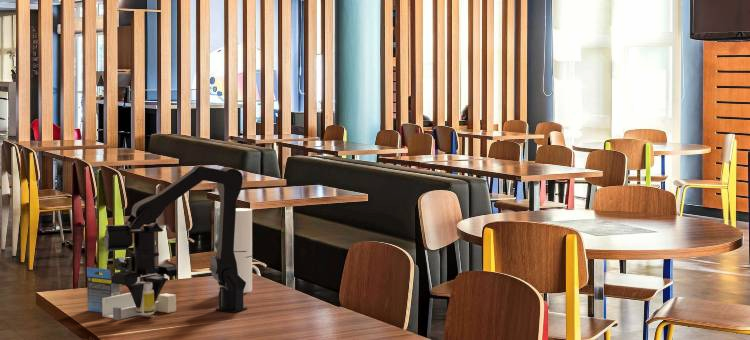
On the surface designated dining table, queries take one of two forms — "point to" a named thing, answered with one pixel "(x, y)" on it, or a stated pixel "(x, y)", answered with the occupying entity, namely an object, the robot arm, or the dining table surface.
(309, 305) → the dining table surface
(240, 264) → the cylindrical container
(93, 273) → the label tape cartridge
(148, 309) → the supplement bottle
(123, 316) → the white bracket
